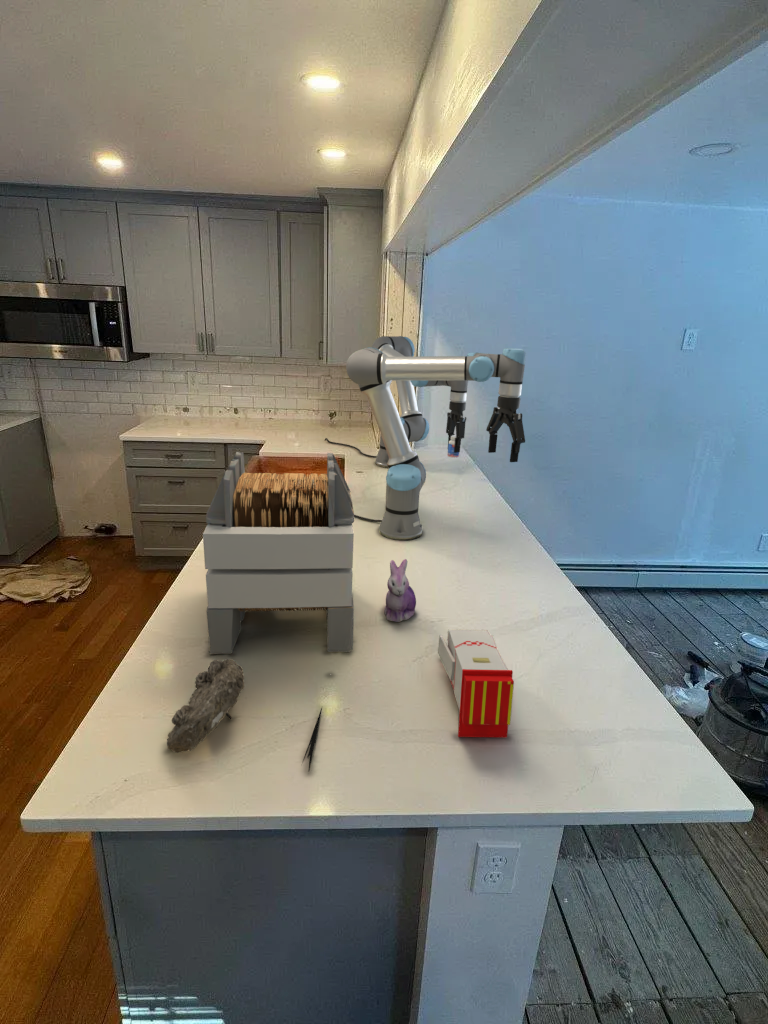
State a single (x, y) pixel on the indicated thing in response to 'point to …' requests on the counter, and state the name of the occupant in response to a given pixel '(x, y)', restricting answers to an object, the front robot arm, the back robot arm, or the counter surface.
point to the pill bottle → (452, 448)
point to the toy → (478, 682)
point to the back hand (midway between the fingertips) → (453, 450)
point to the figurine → (399, 594)
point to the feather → (313, 740)
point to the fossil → (206, 705)
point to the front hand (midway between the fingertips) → (502, 457)
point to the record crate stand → (279, 550)
